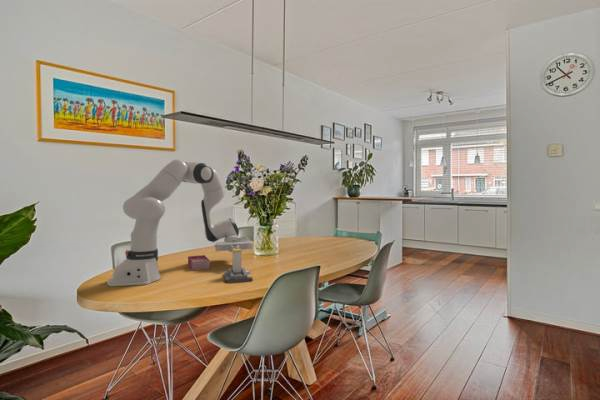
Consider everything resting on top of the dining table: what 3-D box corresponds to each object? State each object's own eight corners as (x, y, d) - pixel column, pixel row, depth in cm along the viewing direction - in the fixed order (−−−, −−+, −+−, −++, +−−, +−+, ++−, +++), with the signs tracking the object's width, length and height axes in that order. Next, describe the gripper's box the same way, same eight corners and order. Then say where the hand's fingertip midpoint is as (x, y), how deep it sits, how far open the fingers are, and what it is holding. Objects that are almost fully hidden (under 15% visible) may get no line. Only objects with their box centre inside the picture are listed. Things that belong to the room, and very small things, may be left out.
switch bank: (226, 282, 161) (226, 276, 161) (224, 273, 177) (224, 268, 177) (252, 280, 164) (252, 275, 164) (248, 272, 180) (248, 267, 180)
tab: (233, 272, 172) (233, 250, 172) (232, 270, 176) (232, 249, 176) (241, 272, 173) (241, 250, 173) (240, 270, 177) (240, 248, 177)
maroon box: (202, 253, 206) (210, 260, 188) (203, 261, 206) (210, 269, 188) (186, 254, 202) (192, 261, 184) (186, 263, 202) (192, 270, 184)
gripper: (214, 239, 197) (214, 243, 183) (250, 237, 202) (254, 241, 189) (214, 250, 197) (215, 255, 184) (250, 248, 203) (254, 253, 189)
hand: (235, 248), depth 186 cm, fingers closed
